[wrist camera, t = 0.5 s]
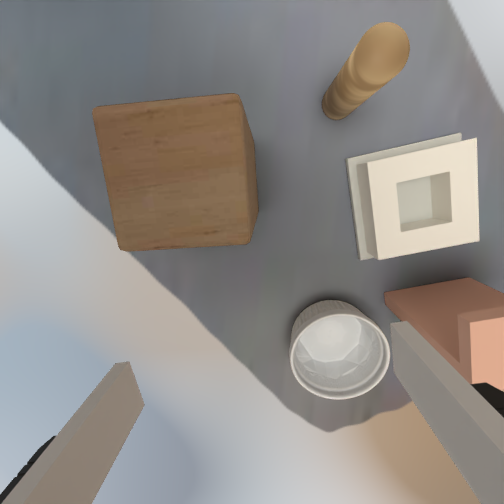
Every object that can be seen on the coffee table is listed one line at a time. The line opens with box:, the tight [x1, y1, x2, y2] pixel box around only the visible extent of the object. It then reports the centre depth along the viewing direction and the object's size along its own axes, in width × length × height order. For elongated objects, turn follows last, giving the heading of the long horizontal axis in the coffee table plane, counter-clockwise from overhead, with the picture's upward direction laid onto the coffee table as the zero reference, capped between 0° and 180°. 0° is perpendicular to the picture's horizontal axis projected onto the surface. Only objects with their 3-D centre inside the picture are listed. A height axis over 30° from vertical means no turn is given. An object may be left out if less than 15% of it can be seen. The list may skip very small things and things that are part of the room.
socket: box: [345, 133, 479, 260], centre depth 35 cm, size 14×14×5 cm
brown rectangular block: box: [384, 277, 504, 390], centre depth 31 cm, size 7×12×18 cm, turn 102°
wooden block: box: [92, 93, 259, 251], centre depth 28 cm, size 10×10×20 cm
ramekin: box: [289, 300, 390, 399], centre depth 40 cm, size 13×13×7 cm
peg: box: [322, 22, 410, 120], centre depth 28 cm, size 4×4×14 cm
